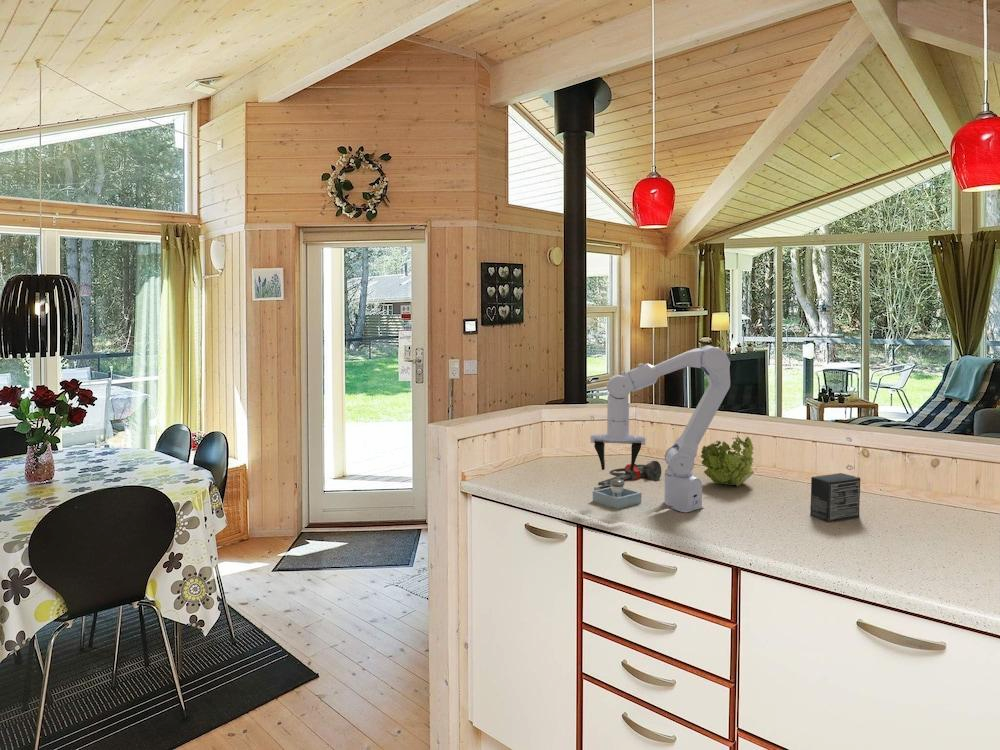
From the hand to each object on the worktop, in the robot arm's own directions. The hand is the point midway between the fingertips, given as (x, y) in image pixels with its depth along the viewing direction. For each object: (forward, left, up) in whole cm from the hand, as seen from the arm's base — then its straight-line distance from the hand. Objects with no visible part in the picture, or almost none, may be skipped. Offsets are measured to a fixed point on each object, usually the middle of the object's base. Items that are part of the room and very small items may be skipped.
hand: (617, 469), depth 183 cm
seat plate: (+8, -5, -10) cm, 13 cm away
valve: (+18, -22, -10) cm, 30 cm away
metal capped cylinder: (0, 0, -9) cm, 9 cm away
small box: (-41, -36, -10) cm, 56 cm away
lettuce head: (-5, -43, -10) cm, 44 cm away
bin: (0, 0, -10) cm, 10 cm away
